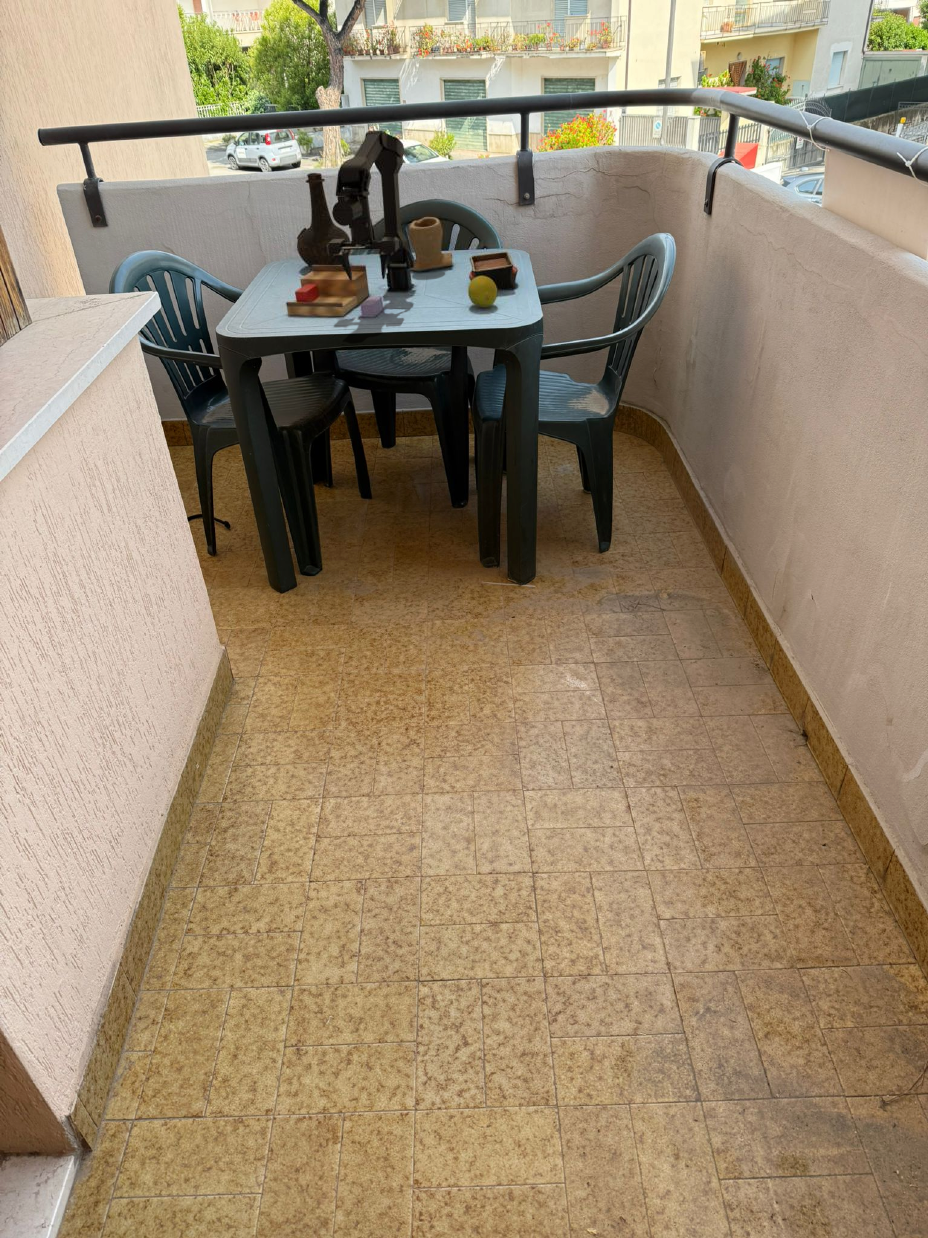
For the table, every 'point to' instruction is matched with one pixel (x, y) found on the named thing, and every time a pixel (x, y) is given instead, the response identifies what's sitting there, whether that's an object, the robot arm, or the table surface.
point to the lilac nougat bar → (371, 306)
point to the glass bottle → (319, 228)
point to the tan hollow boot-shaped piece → (428, 244)
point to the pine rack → (332, 291)
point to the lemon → (482, 291)
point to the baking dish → (495, 269)
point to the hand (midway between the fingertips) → (367, 279)
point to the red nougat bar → (307, 293)
